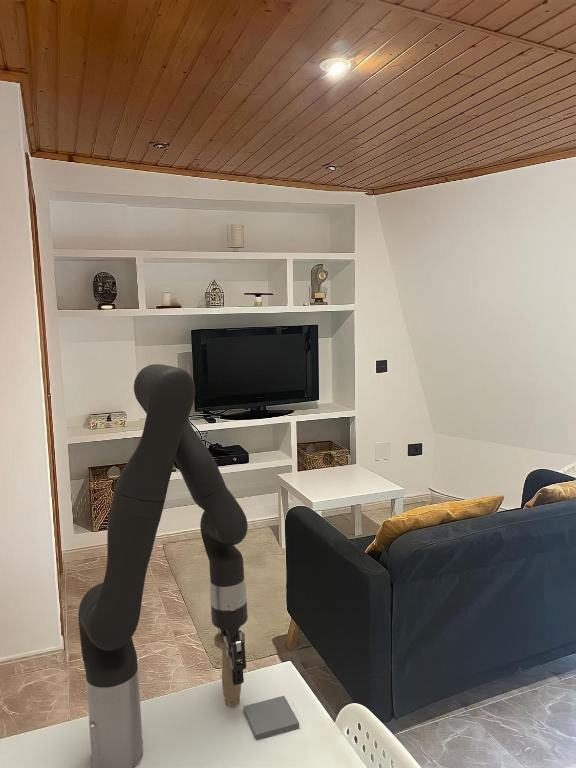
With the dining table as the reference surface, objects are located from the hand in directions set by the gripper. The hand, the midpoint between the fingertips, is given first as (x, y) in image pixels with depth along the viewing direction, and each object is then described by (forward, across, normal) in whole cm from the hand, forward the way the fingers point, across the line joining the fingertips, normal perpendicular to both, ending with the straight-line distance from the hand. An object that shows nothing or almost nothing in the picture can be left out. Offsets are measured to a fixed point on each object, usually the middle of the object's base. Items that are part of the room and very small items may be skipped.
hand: (233, 671), depth 125 cm
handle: (+7, 0, -1) cm, 7 cm away
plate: (+7, +8, +6) cm, 12 cm away
